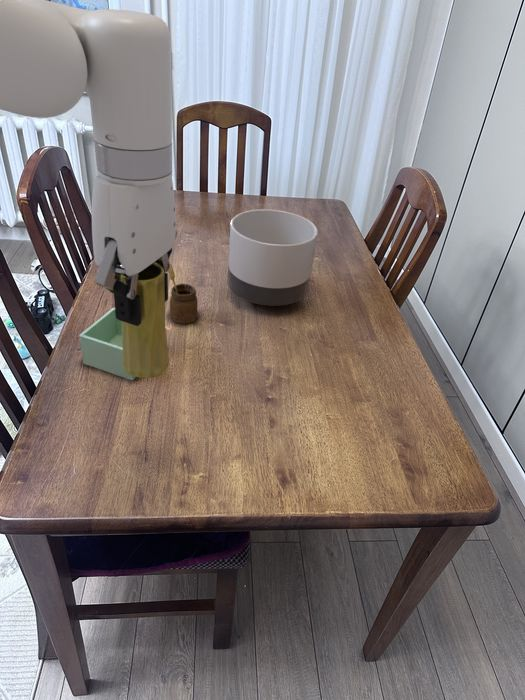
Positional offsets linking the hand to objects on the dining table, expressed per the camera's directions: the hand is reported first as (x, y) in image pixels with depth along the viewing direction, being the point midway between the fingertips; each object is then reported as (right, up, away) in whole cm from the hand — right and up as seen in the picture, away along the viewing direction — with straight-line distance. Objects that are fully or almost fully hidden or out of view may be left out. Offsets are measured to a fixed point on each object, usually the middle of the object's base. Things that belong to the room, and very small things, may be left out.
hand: (142, 308), depth 60 cm
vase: (-1, -7, +5) cm, 9 cm away
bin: (-12, -6, +34) cm, 37 cm away
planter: (+16, +8, +58) cm, 60 cm away
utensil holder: (-3, +2, +47) cm, 47 cm away
